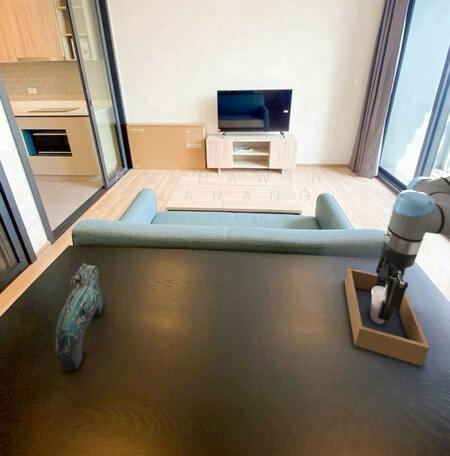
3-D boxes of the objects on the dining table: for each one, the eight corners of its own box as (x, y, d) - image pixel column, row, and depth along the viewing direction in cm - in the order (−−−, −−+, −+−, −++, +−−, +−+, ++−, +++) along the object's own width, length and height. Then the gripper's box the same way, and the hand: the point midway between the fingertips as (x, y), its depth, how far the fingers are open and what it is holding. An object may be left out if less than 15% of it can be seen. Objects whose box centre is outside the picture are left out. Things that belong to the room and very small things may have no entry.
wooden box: (395, 295, 82) (400, 279, 80) (421, 366, 63) (429, 348, 60) (344, 283, 87) (348, 267, 84) (354, 345, 67) (359, 328, 65)
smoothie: (362, 318, 75) (372, 284, 70) (368, 304, 79) (378, 271, 74) (386, 333, 70) (399, 298, 66) (391, 317, 75) (403, 283, 70)
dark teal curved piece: (91, 302, 79) (78, 253, 72) (111, 300, 80) (100, 252, 73) (57, 374, 61) (35, 319, 54) (84, 372, 61) (66, 316, 54)
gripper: (375, 222, 75) (360, 279, 83) (395, 270, 57) (373, 335, 66) (404, 227, 72) (385, 285, 81) (433, 278, 55) (406, 345, 63)
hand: (380, 307), depth 73 cm, fingers closed on smoothie, 6 cm apart
